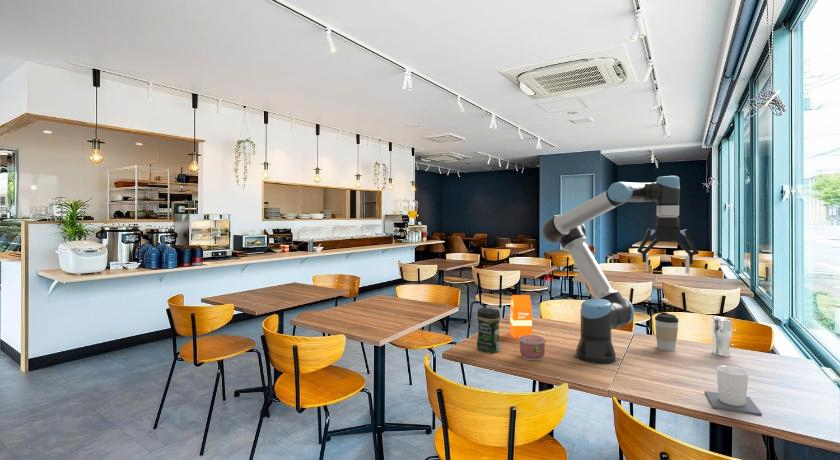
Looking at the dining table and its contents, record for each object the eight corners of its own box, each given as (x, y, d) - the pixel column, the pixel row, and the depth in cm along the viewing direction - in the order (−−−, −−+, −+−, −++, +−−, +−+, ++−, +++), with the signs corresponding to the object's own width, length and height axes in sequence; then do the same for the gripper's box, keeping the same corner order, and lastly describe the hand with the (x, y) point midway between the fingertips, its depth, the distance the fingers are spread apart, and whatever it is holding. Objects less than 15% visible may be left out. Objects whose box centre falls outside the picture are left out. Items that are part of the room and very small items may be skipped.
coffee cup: (681, 352, 179) (682, 317, 179) (658, 351, 181) (658, 316, 181) (673, 345, 188) (673, 312, 188) (651, 344, 190) (651, 311, 189)
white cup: (710, 396, 136) (710, 365, 135) (732, 395, 136) (733, 364, 136) (730, 407, 128) (730, 375, 127) (754, 406, 128) (755, 374, 128)
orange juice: (531, 338, 201) (532, 296, 200) (513, 338, 201) (513, 296, 201) (528, 333, 209) (528, 293, 208) (510, 333, 209) (510, 293, 208)
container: (516, 359, 173) (516, 340, 172) (522, 352, 182) (522, 333, 182) (542, 363, 168) (542, 343, 167) (547, 355, 177) (547, 336, 177)
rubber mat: (713, 408, 129) (713, 406, 129) (704, 392, 140) (704, 390, 140) (761, 415, 124) (761, 413, 124) (749, 398, 135) (749, 397, 135)
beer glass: (725, 358, 172) (726, 321, 171) (707, 353, 178) (708, 318, 178) (734, 355, 175) (735, 319, 175) (716, 350, 181) (717, 315, 181)
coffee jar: (474, 350, 184) (474, 308, 184) (483, 345, 190) (483, 305, 190) (493, 355, 178) (493, 311, 177) (502, 350, 184) (502, 308, 183)
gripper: (704, 216, 160) (703, 272, 161) (630, 216, 170) (630, 269, 171) (708, 216, 153) (707, 275, 154) (631, 217, 163) (631, 271, 164)
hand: (666, 272), depth 162 cm, fingers open, 13 cm apart
